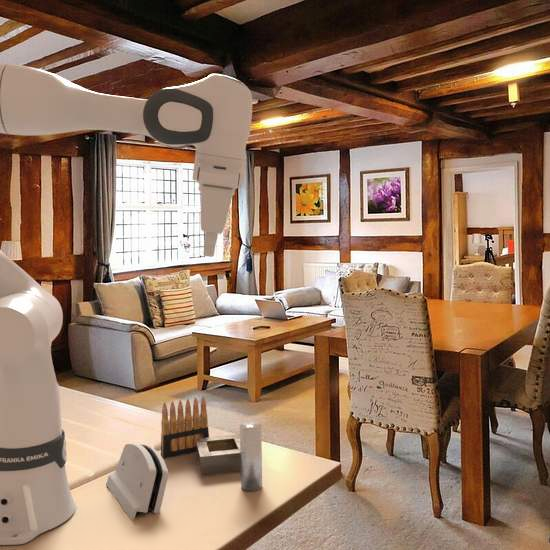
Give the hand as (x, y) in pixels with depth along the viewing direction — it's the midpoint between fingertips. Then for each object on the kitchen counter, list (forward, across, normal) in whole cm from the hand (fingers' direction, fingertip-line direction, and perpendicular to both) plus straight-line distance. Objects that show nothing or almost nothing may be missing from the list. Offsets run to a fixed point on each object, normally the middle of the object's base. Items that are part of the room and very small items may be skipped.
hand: (208, 251), depth 102 cm
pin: (+44, +4, +14) cm, 46 cm away
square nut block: (+46, -8, +8) cm, 47 cm away
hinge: (+47, +4, -7) cm, 48 cm away
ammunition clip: (+48, -15, +1) cm, 50 cm away
